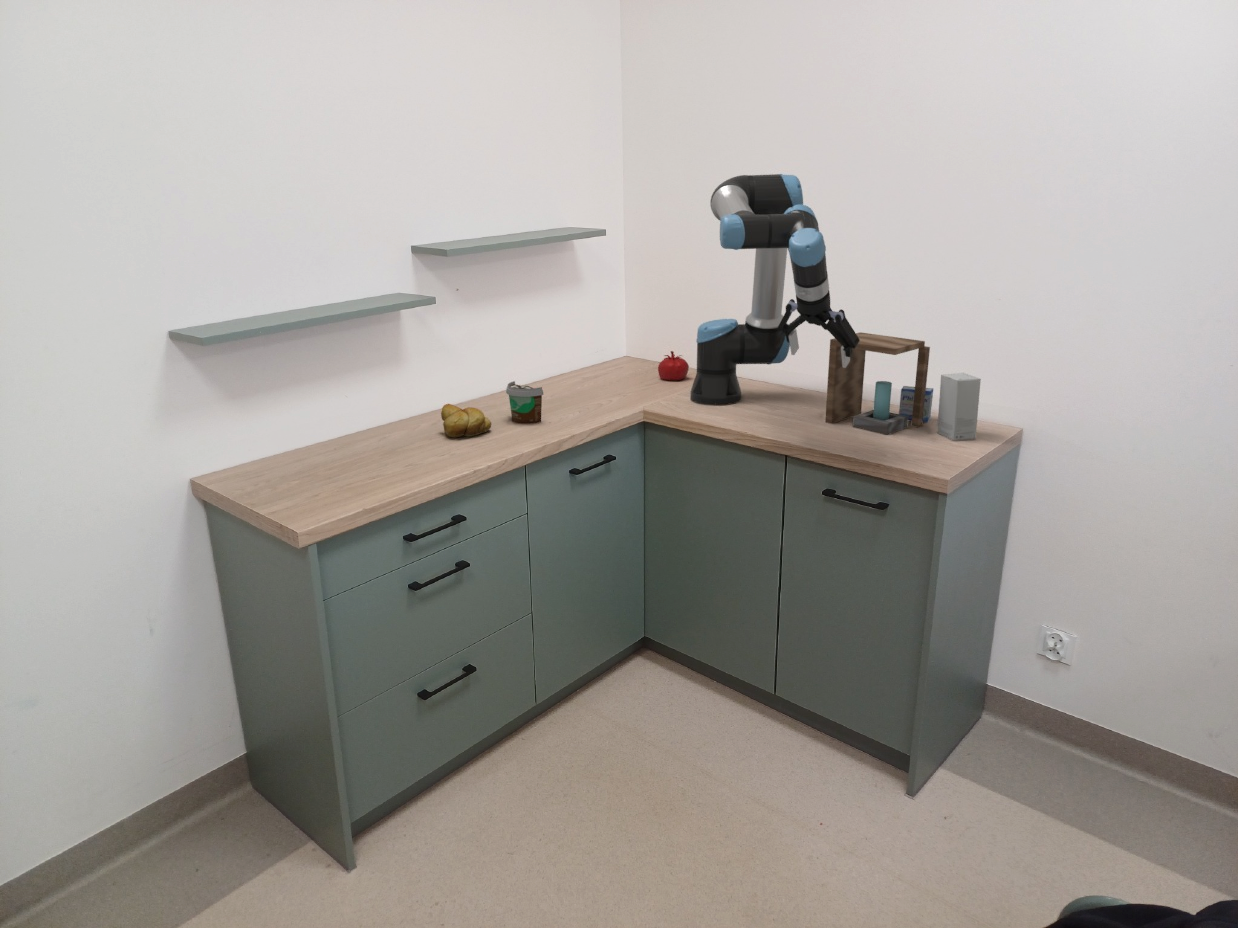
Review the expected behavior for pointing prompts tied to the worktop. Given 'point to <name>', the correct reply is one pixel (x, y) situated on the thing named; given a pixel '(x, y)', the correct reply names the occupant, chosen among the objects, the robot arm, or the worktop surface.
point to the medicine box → (908, 401)
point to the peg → (882, 400)
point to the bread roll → (464, 421)
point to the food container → (525, 403)
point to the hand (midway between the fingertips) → (820, 357)
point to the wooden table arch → (849, 380)
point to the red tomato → (673, 368)
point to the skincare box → (958, 406)
